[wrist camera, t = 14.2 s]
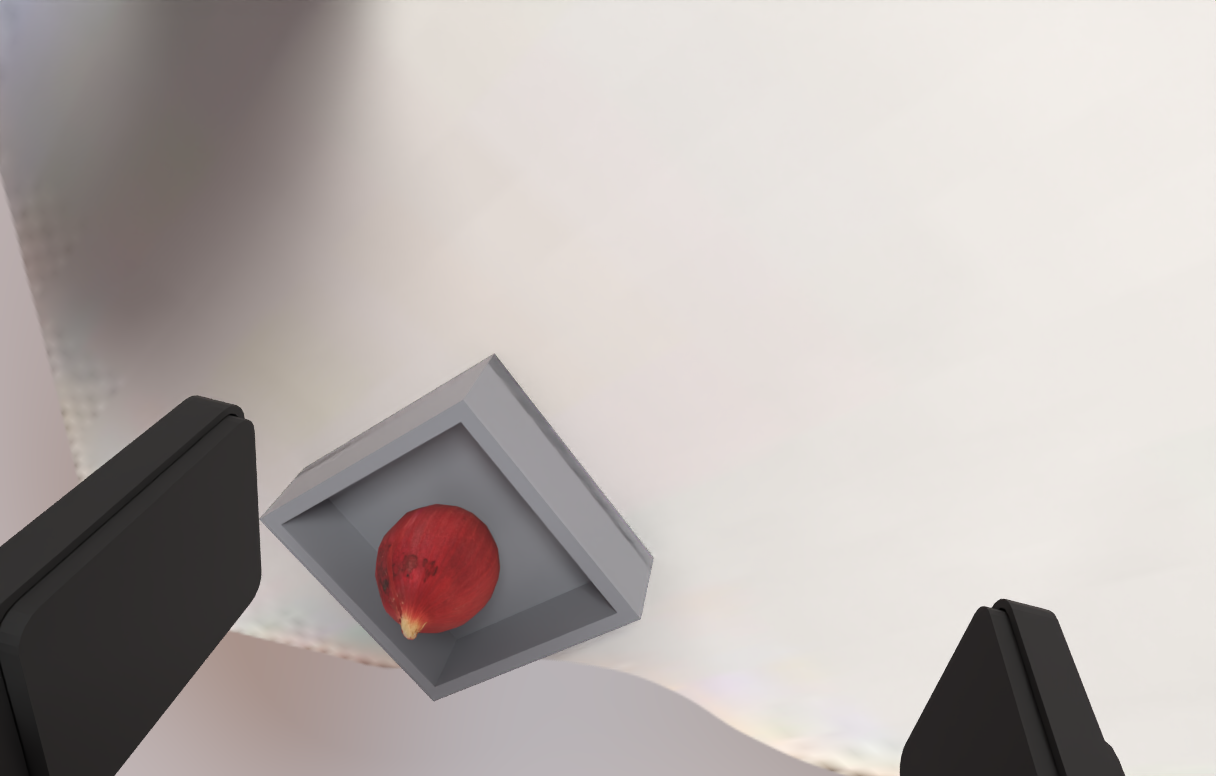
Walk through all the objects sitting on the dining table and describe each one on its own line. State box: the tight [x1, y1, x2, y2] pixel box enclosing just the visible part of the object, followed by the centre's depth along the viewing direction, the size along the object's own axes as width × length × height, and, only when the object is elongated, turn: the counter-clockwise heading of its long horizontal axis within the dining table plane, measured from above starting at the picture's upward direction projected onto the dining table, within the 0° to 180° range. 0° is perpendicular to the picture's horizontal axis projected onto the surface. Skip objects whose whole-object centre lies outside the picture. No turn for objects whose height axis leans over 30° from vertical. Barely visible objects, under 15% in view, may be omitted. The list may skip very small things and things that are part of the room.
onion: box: [375, 504, 500, 640], centre depth 41 cm, size 6×6×8 cm
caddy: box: [260, 354, 653, 701], centre depth 43 cm, size 14×14×4 cm
